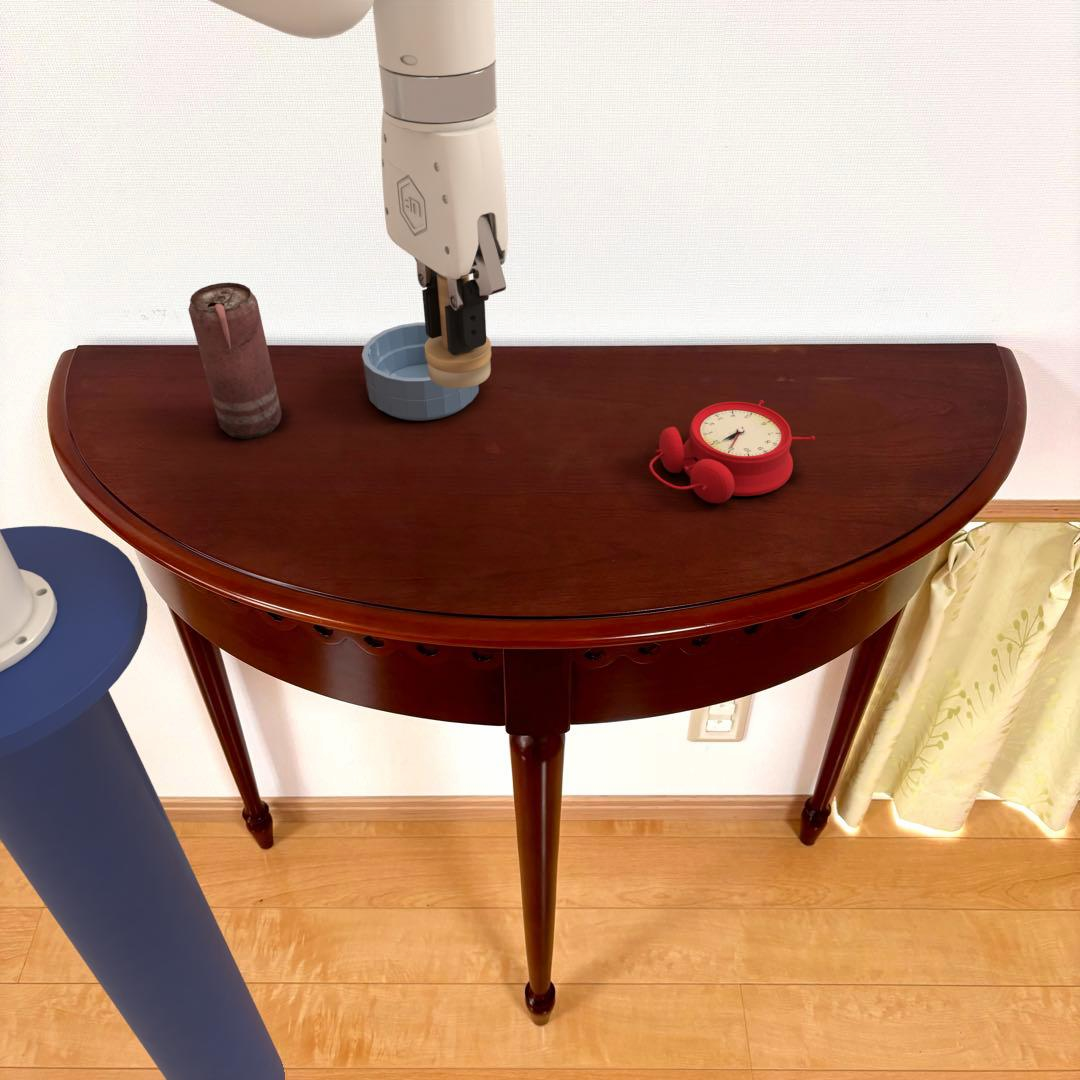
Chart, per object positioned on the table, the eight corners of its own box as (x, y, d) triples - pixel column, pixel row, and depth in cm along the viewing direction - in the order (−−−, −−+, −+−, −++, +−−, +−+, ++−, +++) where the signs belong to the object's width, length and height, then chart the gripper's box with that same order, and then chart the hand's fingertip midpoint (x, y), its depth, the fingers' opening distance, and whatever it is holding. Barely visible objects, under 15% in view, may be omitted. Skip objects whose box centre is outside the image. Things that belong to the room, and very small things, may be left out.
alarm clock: (831, 438, 87) (712, 460, 79) (808, 495, 91) (691, 522, 83) (754, 386, 94) (637, 401, 86) (735, 442, 98) (620, 461, 90)
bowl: (402, 437, 94) (397, 393, 91) (349, 385, 102) (342, 343, 98) (500, 399, 99) (499, 357, 96) (443, 352, 106) (440, 311, 103)
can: (227, 448, 93) (192, 317, 84) (215, 414, 97) (181, 287, 88) (289, 433, 95) (261, 304, 86) (275, 401, 99) (247, 274, 90)
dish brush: (449, 397, 74) (441, 296, 69) (415, 368, 77) (404, 269, 72) (504, 375, 76) (501, 276, 71) (469, 349, 80) (463, 251, 74)
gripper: (331, 72, 66) (364, 314, 78) (457, 136, 56) (472, 402, 68) (424, 54, 69) (442, 289, 81) (559, 111, 60) (556, 369, 72)
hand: (456, 338), depth 75 cm, fingers closed on dish brush, 2 cm apart
